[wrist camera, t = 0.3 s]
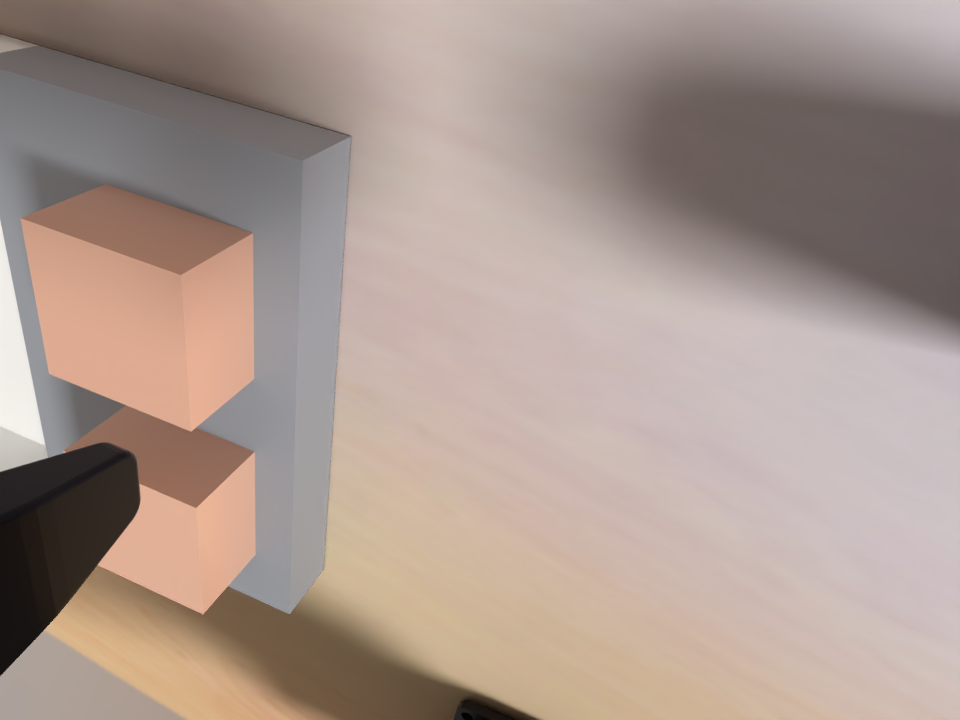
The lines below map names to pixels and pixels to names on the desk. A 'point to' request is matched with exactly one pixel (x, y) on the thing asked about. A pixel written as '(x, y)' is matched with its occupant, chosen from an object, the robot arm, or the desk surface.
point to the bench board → (221, 197)
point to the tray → (15, 363)
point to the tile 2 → (182, 508)
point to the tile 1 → (144, 302)
